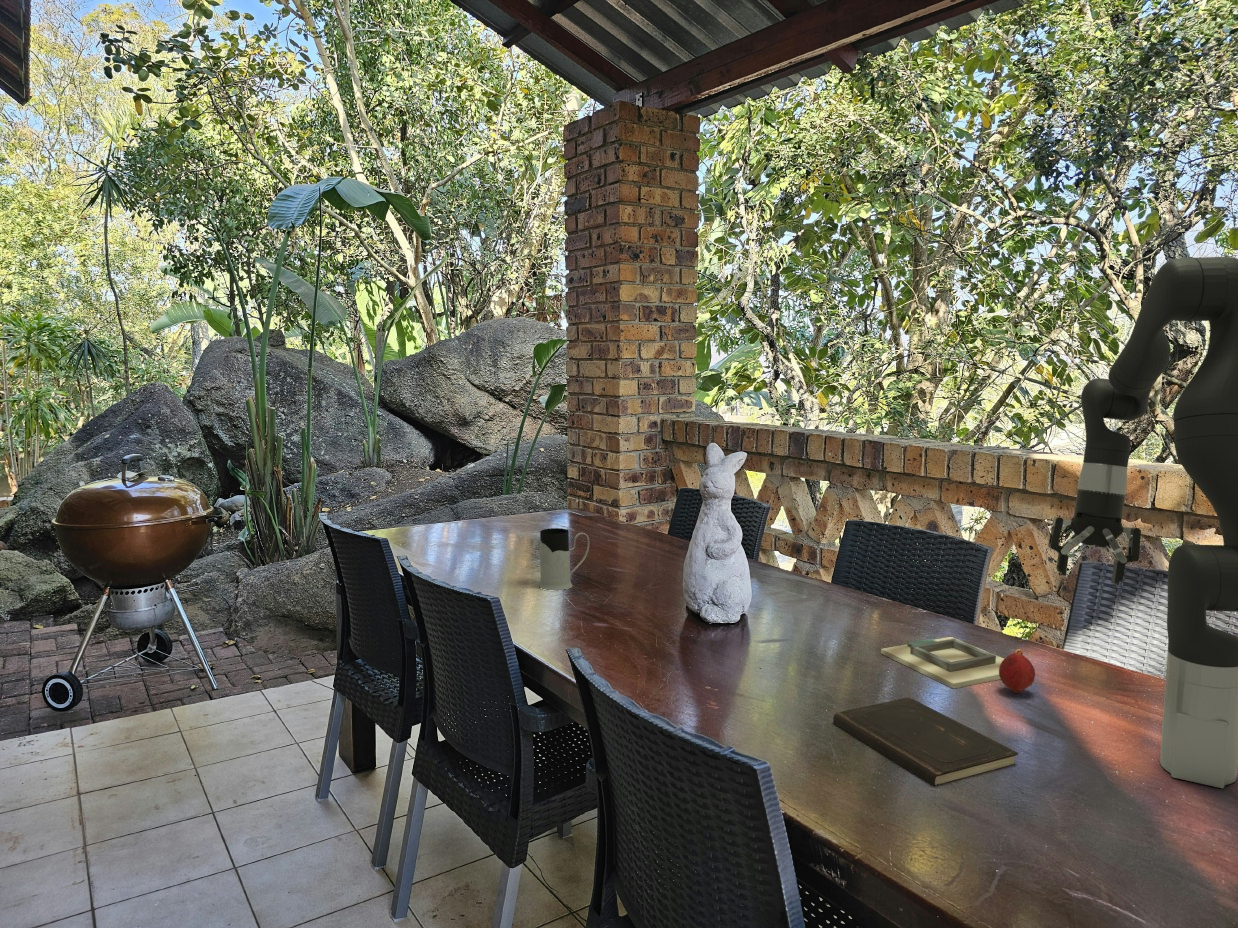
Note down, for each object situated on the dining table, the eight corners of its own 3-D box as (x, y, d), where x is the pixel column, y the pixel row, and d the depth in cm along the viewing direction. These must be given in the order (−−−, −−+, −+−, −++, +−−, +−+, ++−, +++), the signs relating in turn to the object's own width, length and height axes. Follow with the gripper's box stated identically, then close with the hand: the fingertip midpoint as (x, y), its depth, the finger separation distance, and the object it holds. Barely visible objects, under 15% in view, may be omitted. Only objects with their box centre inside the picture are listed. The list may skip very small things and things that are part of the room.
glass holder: (534, 584, 229) (533, 529, 227) (583, 578, 235) (582, 524, 233) (545, 592, 221) (544, 535, 219) (596, 585, 227) (595, 530, 225)
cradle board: (1028, 673, 162) (1028, 660, 162) (953, 688, 155) (953, 675, 155) (950, 641, 180) (951, 629, 180) (881, 653, 174) (881, 641, 173)
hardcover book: (908, 709, 148) (909, 696, 148) (1017, 767, 127) (1018, 752, 127) (832, 726, 142) (832, 713, 141) (933, 790, 121) (934, 774, 120)
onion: (1013, 700, 150) (1015, 656, 149) (991, 688, 155) (992, 645, 154) (1041, 696, 151) (1043, 652, 150) (1018, 684, 157) (1020, 642, 156)
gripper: (1062, 484, 153) (1049, 574, 153) (1152, 496, 148) (1139, 588, 149) (1054, 484, 160) (1041, 570, 160) (1139, 495, 156) (1127, 583, 156)
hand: (1088, 579), depth 154 cm, fingers open, 8 cm apart
